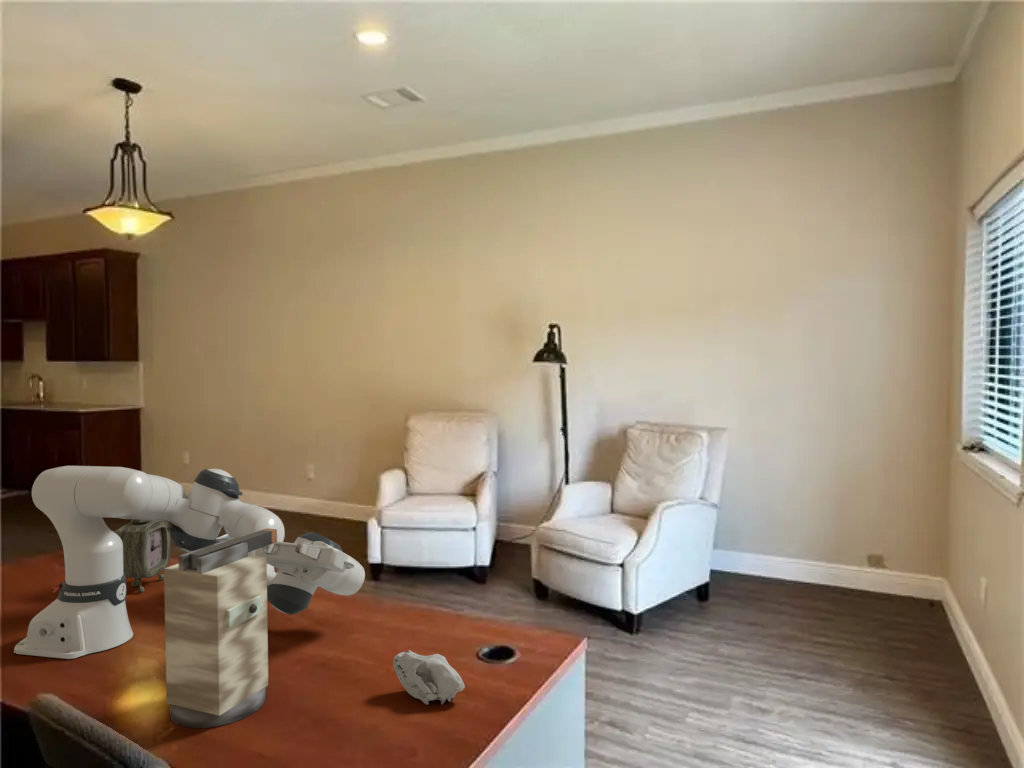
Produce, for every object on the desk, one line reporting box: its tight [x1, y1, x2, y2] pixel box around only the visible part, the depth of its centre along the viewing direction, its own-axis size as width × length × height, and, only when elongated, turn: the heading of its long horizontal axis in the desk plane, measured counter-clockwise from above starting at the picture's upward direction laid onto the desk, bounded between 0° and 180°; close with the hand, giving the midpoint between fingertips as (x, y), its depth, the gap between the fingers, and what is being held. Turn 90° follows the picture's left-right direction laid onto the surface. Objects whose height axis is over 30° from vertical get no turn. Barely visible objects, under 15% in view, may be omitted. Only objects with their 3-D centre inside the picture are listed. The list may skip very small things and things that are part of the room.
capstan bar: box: [189, 528, 277, 569], centre depth 129 cm, size 20×2×2 cm, turn 159°
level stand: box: [163, 540, 269, 729], centre depth 125 cm, size 16×16×29 cm
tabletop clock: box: [113, 519, 172, 594], centre depth 191 cm, size 14×9×25 cm, turn 179°
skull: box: [392, 649, 466, 706], centre depth 129 cm, size 9×10×13 cm
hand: (279, 545), depth 140 cm, fingers open, 8 cm apart
